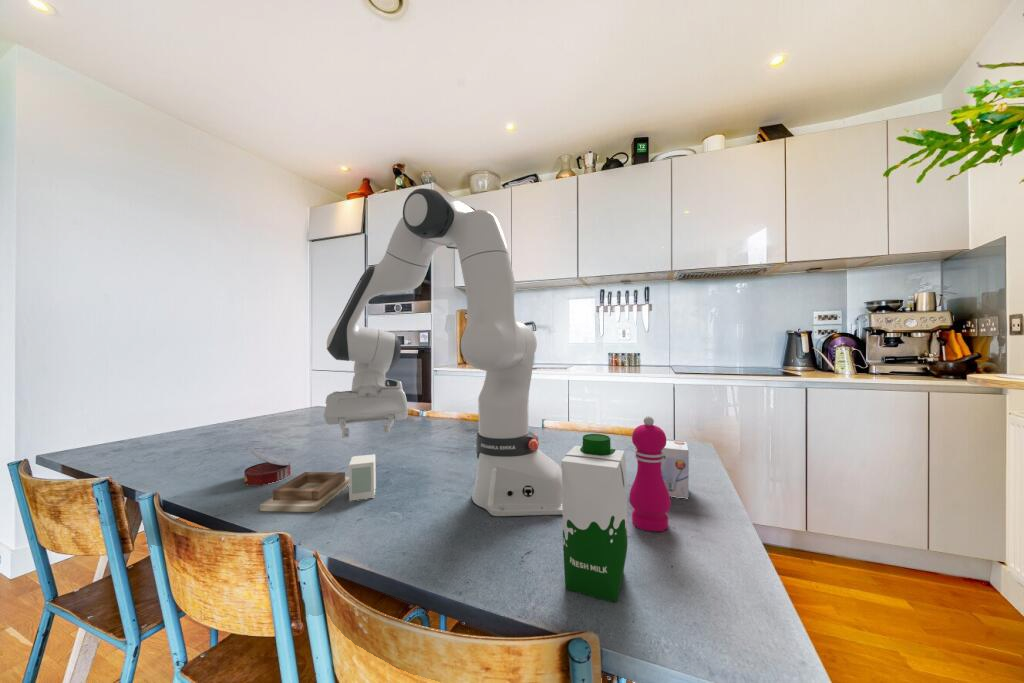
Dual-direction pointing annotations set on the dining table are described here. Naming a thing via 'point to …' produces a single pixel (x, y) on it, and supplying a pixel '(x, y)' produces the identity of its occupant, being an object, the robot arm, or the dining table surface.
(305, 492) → the display base
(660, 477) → the pepper mill
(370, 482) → the picture block
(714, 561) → the dining table surface
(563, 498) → the milk carton
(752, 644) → the dining table surface
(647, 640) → the dining table surface
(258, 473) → the canned food
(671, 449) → the light bulb box
